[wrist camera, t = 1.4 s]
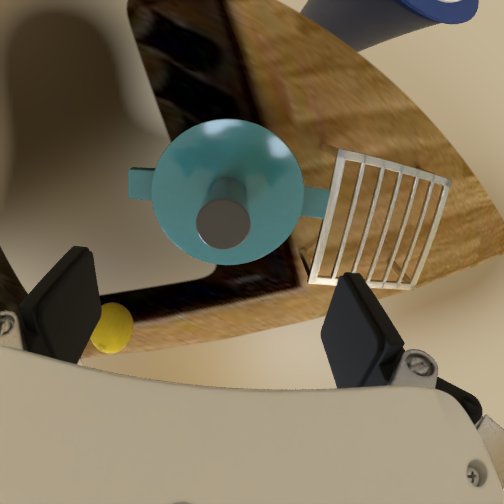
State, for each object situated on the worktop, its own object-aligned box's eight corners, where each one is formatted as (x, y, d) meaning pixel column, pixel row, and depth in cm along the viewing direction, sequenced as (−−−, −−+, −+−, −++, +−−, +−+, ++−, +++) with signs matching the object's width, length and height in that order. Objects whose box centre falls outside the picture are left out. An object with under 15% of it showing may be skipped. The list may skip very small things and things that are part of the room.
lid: (159, 113, 19) (127, 116, 13) (313, 130, 20) (343, 139, 14) (154, 251, 24) (131, 297, 18) (287, 264, 25) (301, 313, 19)
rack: (320, 140, 27) (338, 148, 22) (421, 166, 29) (451, 180, 23) (297, 254, 33) (307, 283, 28) (392, 264, 35) (413, 290, 29)
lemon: (101, 287, 34) (77, 326, 27) (140, 295, 35) (121, 338, 28) (104, 318, 37) (83, 358, 30) (139, 327, 38) (124, 369, 30)
